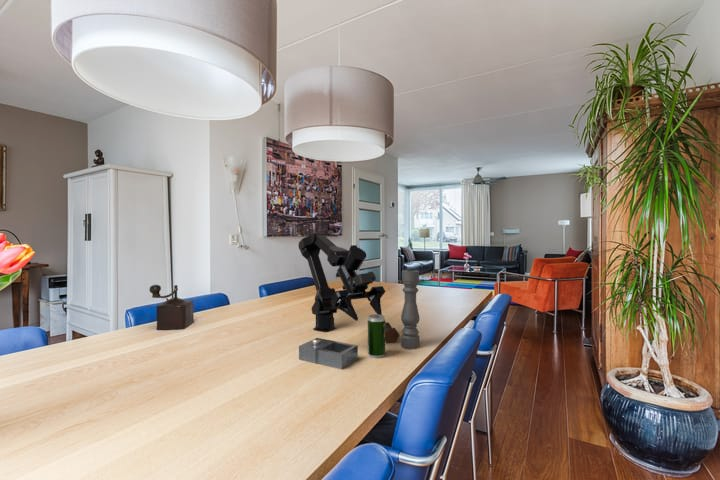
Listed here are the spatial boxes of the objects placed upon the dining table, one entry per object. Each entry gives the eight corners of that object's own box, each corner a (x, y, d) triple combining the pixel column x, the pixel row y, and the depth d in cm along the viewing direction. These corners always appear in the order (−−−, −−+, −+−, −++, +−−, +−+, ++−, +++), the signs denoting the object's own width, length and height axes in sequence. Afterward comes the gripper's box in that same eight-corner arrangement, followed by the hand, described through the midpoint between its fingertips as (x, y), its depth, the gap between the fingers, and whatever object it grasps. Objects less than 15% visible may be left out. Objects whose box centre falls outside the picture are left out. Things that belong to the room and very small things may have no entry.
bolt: (385, 335, 131) (393, 347, 116) (374, 329, 131) (381, 340, 116) (392, 322, 132) (401, 332, 117) (381, 315, 131) (389, 325, 116)
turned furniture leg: (420, 344, 116) (421, 270, 115) (417, 350, 110) (418, 272, 109) (402, 342, 118) (403, 269, 117) (398, 347, 112) (399, 271, 111)
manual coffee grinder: (166, 323, 141) (165, 279, 141) (194, 322, 143) (194, 279, 142) (147, 334, 126) (146, 285, 126) (178, 333, 127) (178, 285, 127)
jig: (298, 359, 102) (298, 342, 101) (317, 350, 109) (316, 334, 109) (341, 369, 94) (341, 351, 94) (357, 358, 102) (357, 342, 102)
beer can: (370, 358, 102) (370, 319, 102) (365, 352, 107) (365, 314, 107) (387, 357, 103) (387, 318, 103) (382, 351, 108) (382, 313, 108)
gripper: (334, 265, 107) (354, 306, 98) (382, 262, 117) (403, 299, 109) (323, 287, 114) (340, 327, 105) (368, 282, 124) (387, 319, 115)
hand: (369, 317), depth 108 cm, fingers open, 9 cm apart
